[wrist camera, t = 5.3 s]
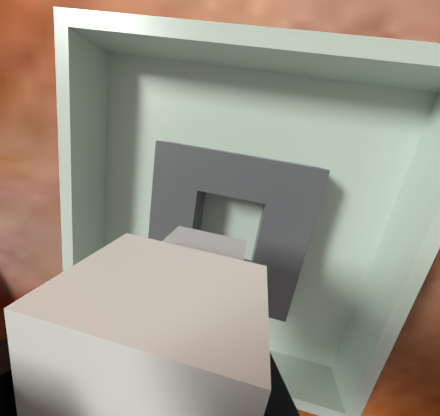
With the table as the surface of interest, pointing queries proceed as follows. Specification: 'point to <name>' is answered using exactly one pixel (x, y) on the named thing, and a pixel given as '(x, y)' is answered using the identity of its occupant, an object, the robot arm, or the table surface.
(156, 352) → the block
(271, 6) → the table surface
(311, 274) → the walled box
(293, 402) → the robot arm
